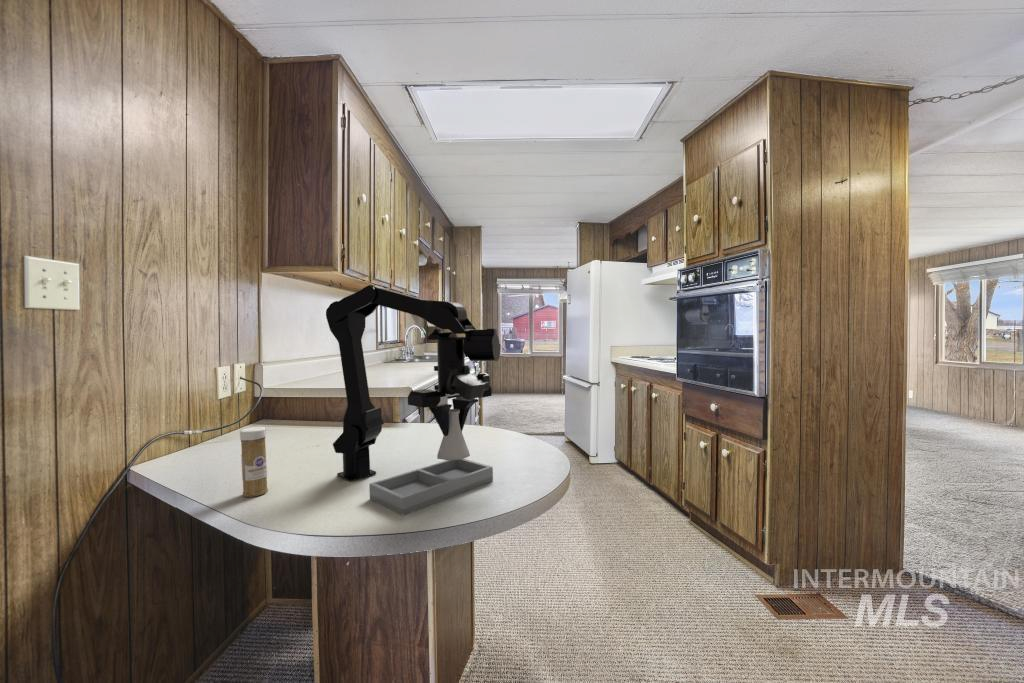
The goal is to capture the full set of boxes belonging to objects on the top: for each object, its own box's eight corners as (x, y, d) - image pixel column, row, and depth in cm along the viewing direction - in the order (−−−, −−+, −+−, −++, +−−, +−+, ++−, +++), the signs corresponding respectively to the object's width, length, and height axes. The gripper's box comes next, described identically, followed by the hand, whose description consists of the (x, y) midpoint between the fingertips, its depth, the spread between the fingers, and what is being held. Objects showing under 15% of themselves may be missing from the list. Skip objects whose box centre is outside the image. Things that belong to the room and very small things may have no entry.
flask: (474, 452, 96) (473, 407, 96) (465, 462, 89) (464, 413, 89) (442, 451, 98) (441, 406, 97) (431, 461, 90) (430, 413, 90)
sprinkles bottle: (254, 498, 87) (251, 431, 86) (237, 496, 88) (234, 430, 88) (273, 490, 91) (270, 426, 91) (256, 488, 93) (253, 425, 92)
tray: (369, 498, 85) (369, 483, 85) (458, 469, 102) (457, 456, 102) (403, 515, 78) (402, 498, 77) (492, 480, 94) (492, 466, 94)
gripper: (439, 366, 80) (441, 450, 81) (508, 359, 94) (510, 431, 95) (405, 363, 88) (407, 440, 89) (474, 357, 102) (475, 424, 102)
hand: (452, 433), depth 93 cm, fingers closed on flask, 3 cm apart
